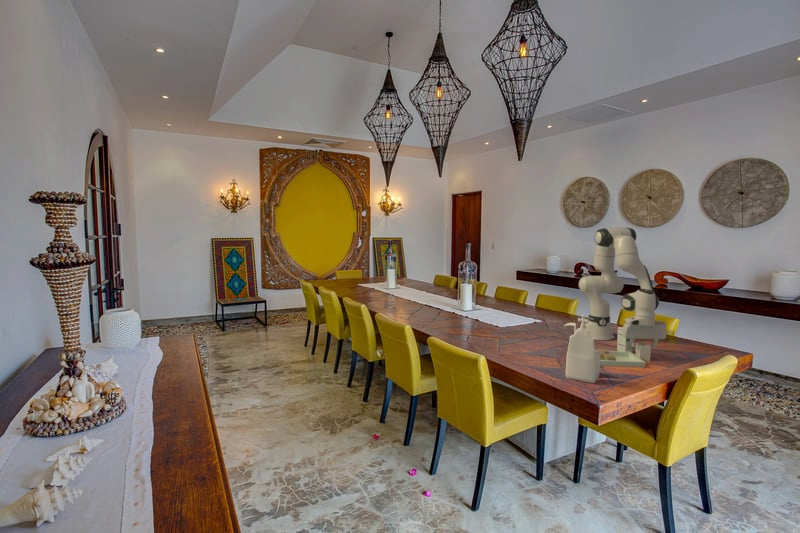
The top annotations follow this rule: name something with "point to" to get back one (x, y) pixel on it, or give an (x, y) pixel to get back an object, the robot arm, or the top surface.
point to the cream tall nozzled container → (582, 355)
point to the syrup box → (624, 342)
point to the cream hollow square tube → (643, 351)
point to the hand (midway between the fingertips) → (643, 346)
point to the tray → (624, 360)
